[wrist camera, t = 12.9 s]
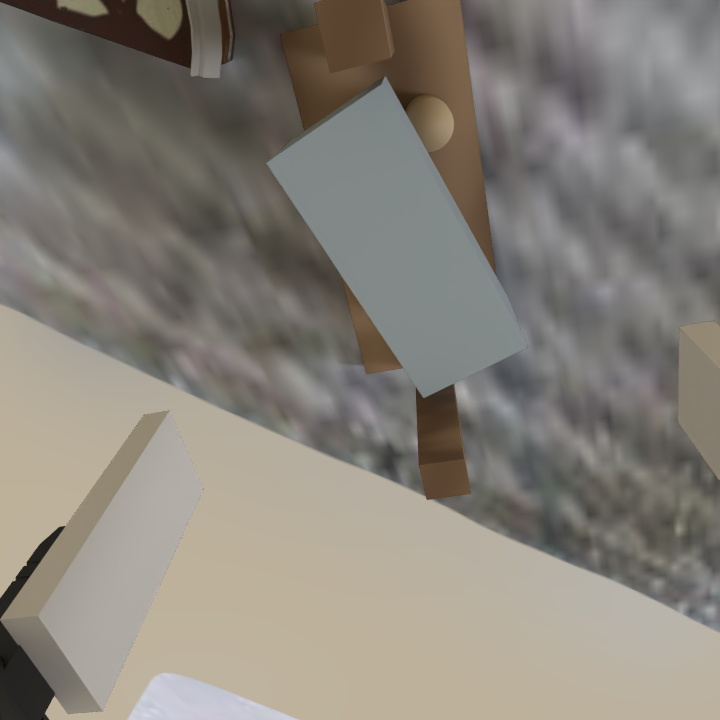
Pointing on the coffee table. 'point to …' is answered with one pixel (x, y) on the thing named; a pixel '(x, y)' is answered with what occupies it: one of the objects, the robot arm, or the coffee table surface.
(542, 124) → the coffee table surface
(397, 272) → the shelf board
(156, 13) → the food container
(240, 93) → the coffee table surface
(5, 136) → the coffee table surface
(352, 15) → the peg stand
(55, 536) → the robot arm
